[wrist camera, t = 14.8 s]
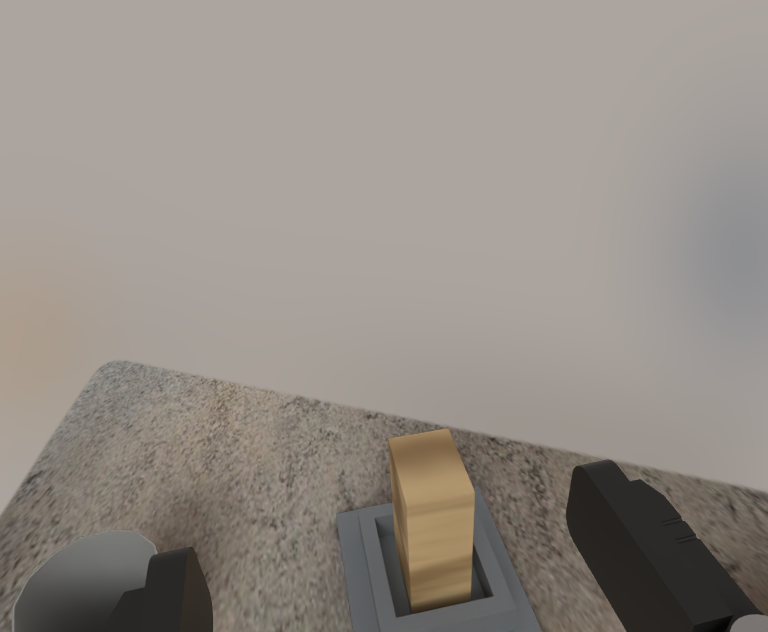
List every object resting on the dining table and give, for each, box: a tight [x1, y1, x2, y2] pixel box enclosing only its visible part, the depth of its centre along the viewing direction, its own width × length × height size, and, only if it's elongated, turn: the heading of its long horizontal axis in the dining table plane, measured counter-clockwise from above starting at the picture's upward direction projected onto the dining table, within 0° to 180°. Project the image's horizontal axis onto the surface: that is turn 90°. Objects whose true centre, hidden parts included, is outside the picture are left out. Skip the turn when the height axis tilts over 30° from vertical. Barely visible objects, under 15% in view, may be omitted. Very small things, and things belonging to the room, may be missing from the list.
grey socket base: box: [336, 486, 542, 632], centre depth 44 cm, size 15×13×3 cm
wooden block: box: [388, 428, 475, 615], centre depth 41 cm, size 6×4×12 cm
